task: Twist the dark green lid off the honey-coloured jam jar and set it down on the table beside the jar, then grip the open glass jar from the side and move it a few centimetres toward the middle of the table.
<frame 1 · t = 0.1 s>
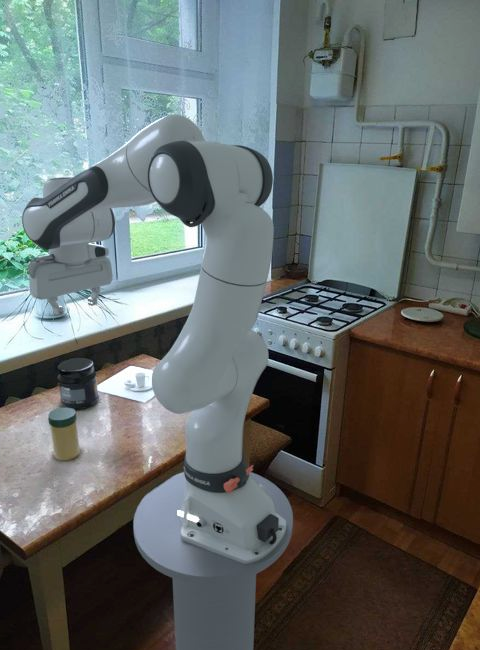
hand: (76, 309, 119), 33 cm above the table, tool pointing down, fingers open, 8 cm apart
jar lid: (62, 415, 117), point 11 cm above the table, screwed on, not yet turned
teacup and saucer: (137, 383, 158), on the table
sprinkles bottle: (208, 415, 141), on the table
supplement container: (80, 402, 145), on the table
jam jar: (67, 453, 121), on the table
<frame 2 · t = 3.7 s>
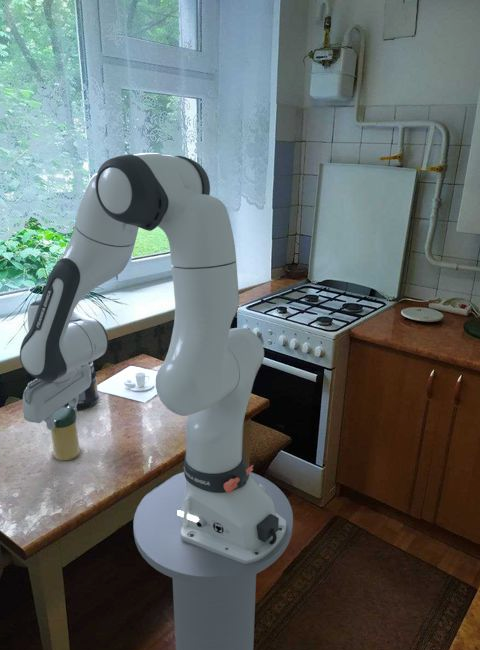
hand: (62, 420, 117), 9 cm above the table, tool pointing down, fingers closed on jar lid, 6 cm apart
jar lid: (62, 415, 117), point 11 cm above the table, screwed on, not yet turned, touching gripper
everything else where it was.
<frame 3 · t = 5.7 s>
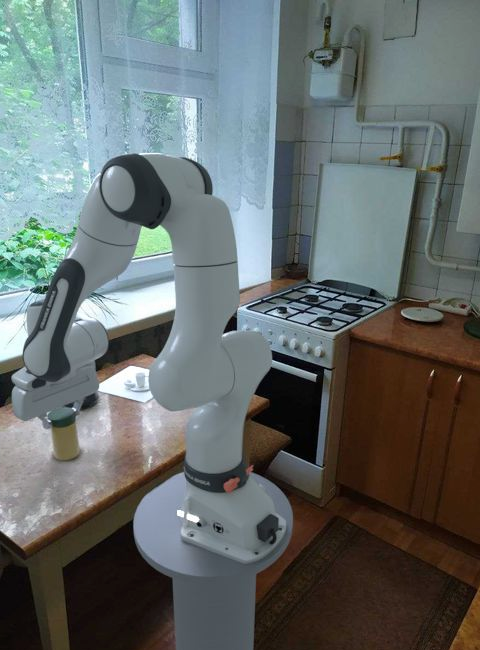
hand: (62, 421, 117), 9 cm above the table, tool pointing down, fingers closed on jar lid, 6 cm apart
jar lid: (61, 415, 116), point 11 cm above the table, off its thread, touching gripper
everything else where it was.
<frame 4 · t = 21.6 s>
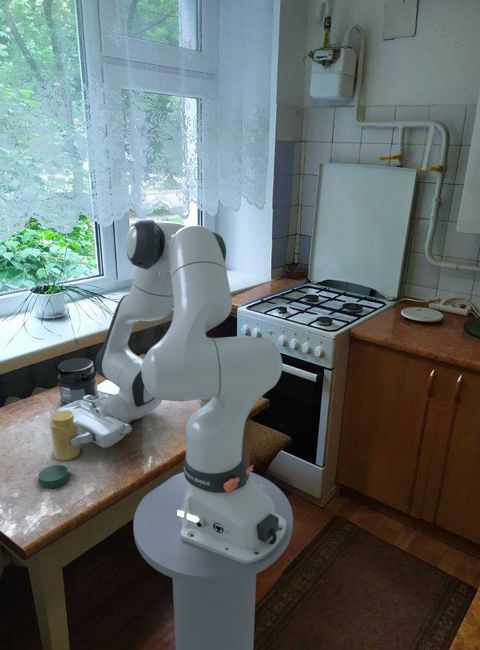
hand: (61, 437, 118), 5 cm above the table, tool horizontal, fingers closed on jam jar, 6 cm apart
jar lid: (53, 474, 110), point 1 cm above the table, off its thread
jam jar: (67, 453, 121), on the table, touching gripper
everything else where it was.
when the fingers open (5 cm above the table, at t = 28.3 s): jam jar stays where it is, on the table.
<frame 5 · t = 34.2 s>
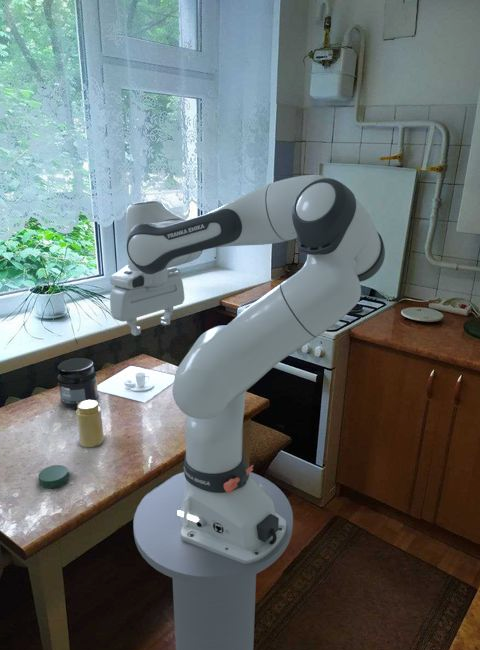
hand: (151, 329, 120), 29 cm above the table, tool pointing down, fingers open, 8 cm apart
jam jar: (91, 441, 126), on the table
everything else where it was.
at the end: jar lid came off its thread; jar lid point 1.5 cm above the table; jam jar inside the target area (0.1 cm from its centre), on the table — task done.
